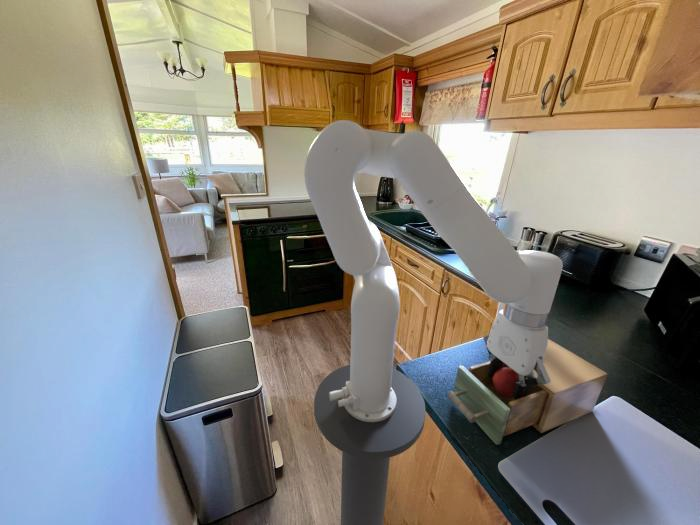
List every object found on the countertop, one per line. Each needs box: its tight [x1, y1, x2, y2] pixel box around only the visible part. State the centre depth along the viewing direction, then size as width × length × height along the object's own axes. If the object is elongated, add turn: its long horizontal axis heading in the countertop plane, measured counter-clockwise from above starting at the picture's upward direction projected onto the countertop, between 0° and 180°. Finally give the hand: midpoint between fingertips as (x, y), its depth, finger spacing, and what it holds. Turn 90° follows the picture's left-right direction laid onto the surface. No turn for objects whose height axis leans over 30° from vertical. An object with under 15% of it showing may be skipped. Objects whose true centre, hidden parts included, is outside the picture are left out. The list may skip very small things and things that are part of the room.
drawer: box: [446, 360, 549, 446], centre depth 63 cm, size 20×13×9 cm, turn 111°
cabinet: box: [526, 338, 609, 434], centre depth 68 cm, size 17×14×11 cm
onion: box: [492, 366, 519, 398], centre depth 63 cm, size 6×6×8 cm
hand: (506, 385), depth 63 cm, fingers closed on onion, 5 cm apart
